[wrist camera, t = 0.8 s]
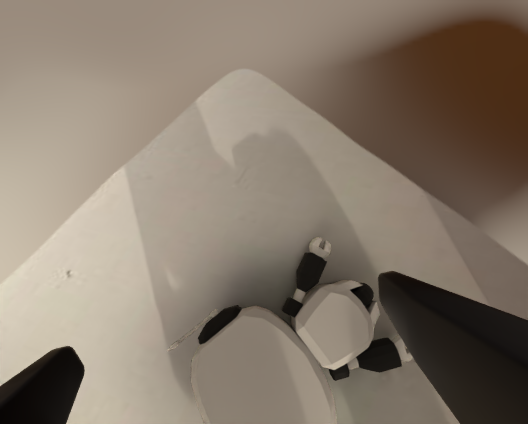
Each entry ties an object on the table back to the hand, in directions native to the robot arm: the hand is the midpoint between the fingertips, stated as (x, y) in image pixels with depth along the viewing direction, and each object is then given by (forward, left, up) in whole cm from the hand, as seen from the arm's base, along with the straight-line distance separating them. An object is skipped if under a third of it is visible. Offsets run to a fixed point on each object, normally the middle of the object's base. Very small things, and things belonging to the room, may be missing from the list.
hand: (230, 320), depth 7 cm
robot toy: (-5, 0, -15) cm, 16 cm away
